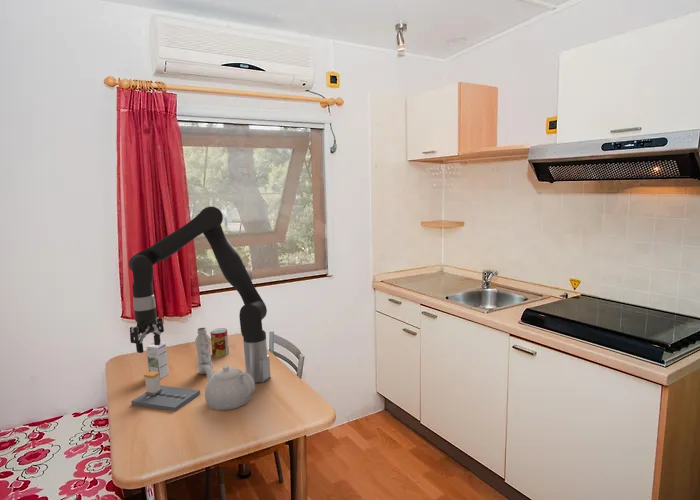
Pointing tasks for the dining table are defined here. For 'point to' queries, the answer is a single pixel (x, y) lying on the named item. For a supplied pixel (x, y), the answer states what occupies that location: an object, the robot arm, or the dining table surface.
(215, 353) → the canned food
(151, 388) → the fader knob
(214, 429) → the dining table surface
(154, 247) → the robot arm
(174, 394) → the console
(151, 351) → the syrup box
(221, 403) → the teapot
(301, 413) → the dining table surface
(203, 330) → the plastic bottle
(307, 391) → the dining table surface
